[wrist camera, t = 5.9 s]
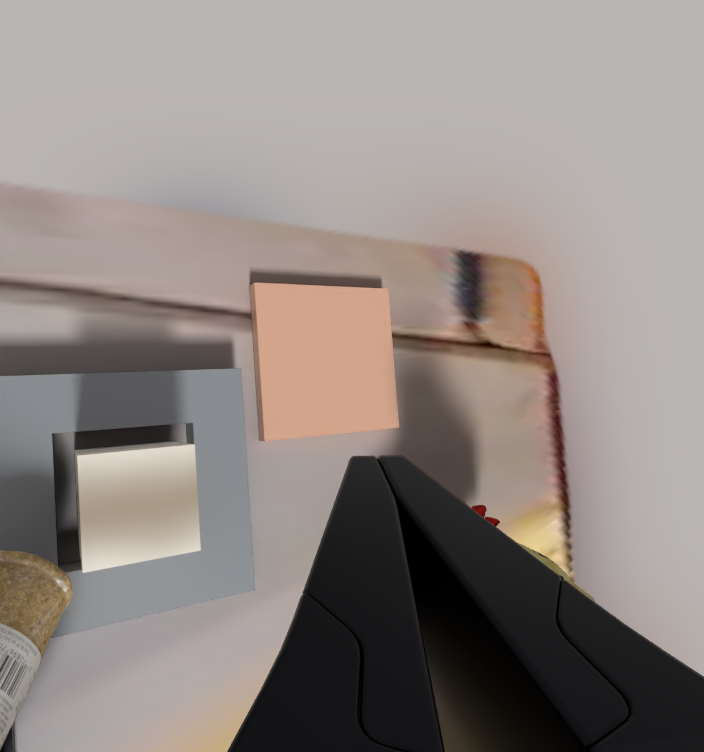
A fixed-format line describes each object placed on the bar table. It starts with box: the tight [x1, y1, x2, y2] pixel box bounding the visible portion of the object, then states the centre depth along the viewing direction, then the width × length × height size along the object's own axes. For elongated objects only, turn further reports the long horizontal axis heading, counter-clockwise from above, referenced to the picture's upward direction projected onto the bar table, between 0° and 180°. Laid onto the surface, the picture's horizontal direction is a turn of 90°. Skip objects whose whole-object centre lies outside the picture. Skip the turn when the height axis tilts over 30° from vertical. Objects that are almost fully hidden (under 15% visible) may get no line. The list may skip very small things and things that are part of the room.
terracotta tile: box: [250, 283, 399, 441], centre depth 37 cm, size 10×10×1 cm
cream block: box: [74, 441, 201, 573], centre depth 27 cm, size 5×5×7 cm
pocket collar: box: [0, 368, 255, 638], centre depth 30 cm, size 13×13×2 cm
